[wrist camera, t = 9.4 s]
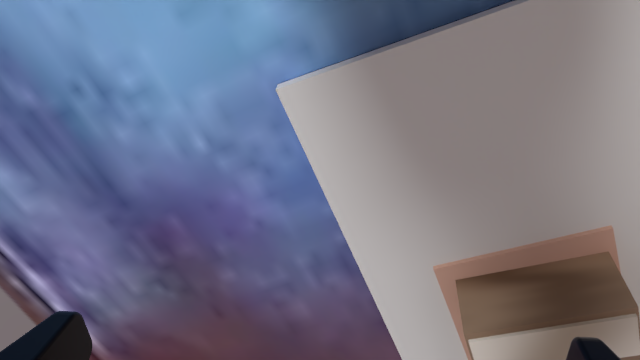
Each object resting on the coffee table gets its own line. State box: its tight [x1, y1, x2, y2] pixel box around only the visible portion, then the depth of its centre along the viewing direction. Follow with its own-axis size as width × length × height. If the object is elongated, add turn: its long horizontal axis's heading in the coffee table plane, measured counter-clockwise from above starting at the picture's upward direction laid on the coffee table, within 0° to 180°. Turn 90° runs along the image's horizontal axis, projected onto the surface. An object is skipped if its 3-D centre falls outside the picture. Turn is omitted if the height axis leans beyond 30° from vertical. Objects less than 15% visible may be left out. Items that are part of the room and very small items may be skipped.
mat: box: [276, 0, 640, 360], centre depth 22 cm, size 21×15×1 cm
